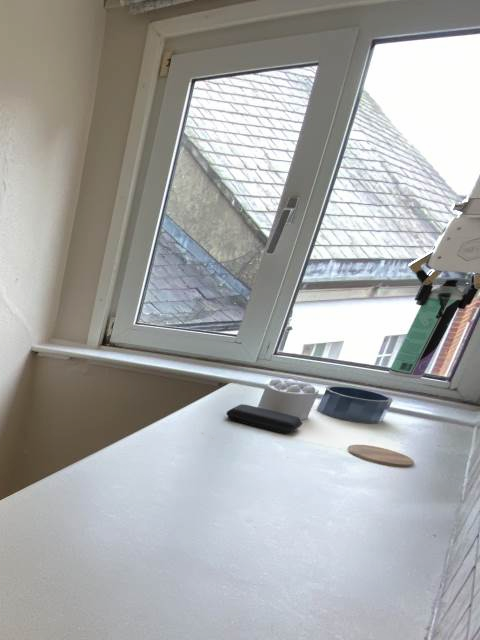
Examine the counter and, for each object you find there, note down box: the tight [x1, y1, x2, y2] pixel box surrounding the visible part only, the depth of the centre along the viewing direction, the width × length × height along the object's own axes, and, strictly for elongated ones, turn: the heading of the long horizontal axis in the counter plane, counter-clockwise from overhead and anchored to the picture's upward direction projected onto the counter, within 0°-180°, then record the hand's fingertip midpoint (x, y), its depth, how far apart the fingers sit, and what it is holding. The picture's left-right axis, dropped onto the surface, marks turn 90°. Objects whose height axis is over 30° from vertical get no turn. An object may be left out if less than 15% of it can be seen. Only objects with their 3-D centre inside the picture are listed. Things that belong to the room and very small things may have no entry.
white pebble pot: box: [257, 378, 320, 421], centre depth 144 cm, size 10×13×9 cm
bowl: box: [316, 385, 394, 425], centre depth 147 cm, size 14×14×6 cm
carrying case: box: [226, 404, 303, 434], centre depth 138 cm, size 11×3×15 cm
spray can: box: [388, 279, 464, 379], centre depth 117 cm, size 6×6×20 cm
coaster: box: [347, 444, 415, 468], centre depth 121 cm, size 11×11×1 cm
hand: (439, 305), depth 114 cm, fingers closed on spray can, 5 cm apart
